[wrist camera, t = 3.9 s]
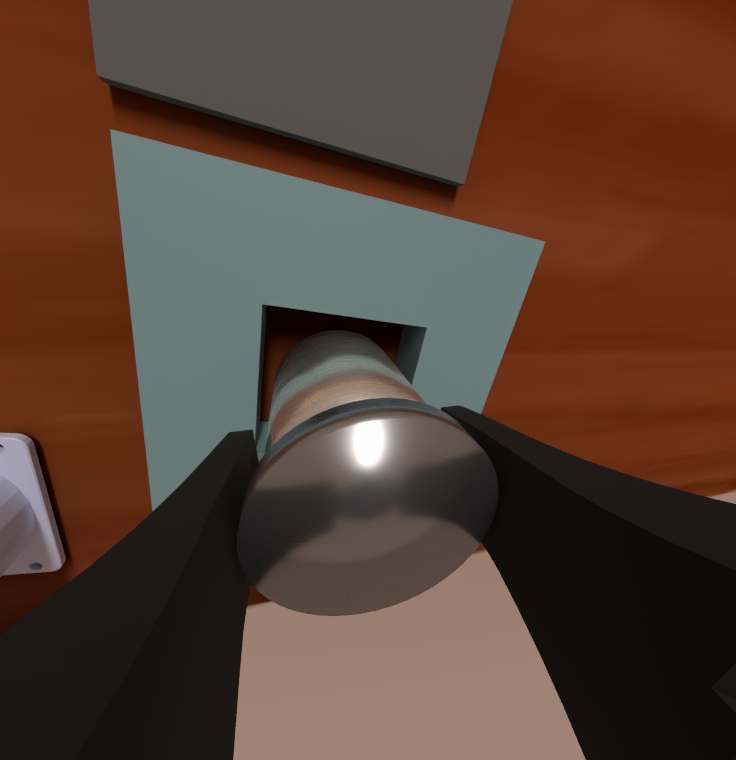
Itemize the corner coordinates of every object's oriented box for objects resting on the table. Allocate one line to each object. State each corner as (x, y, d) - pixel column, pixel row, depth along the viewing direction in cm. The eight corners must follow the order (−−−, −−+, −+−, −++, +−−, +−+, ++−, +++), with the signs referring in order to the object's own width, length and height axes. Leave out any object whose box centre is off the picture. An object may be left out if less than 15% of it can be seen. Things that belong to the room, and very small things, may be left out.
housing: (174, 484, 15) (154, 525, 13) (150, 153, 10) (110, 129, 8) (426, 481, 19) (443, 513, 17) (505, 241, 14) (545, 241, 12)
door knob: (275, 452, 13) (259, 639, 7) (255, 326, 11) (206, 441, 5) (397, 435, 14) (477, 584, 8) (403, 318, 12) (522, 402, 6)
